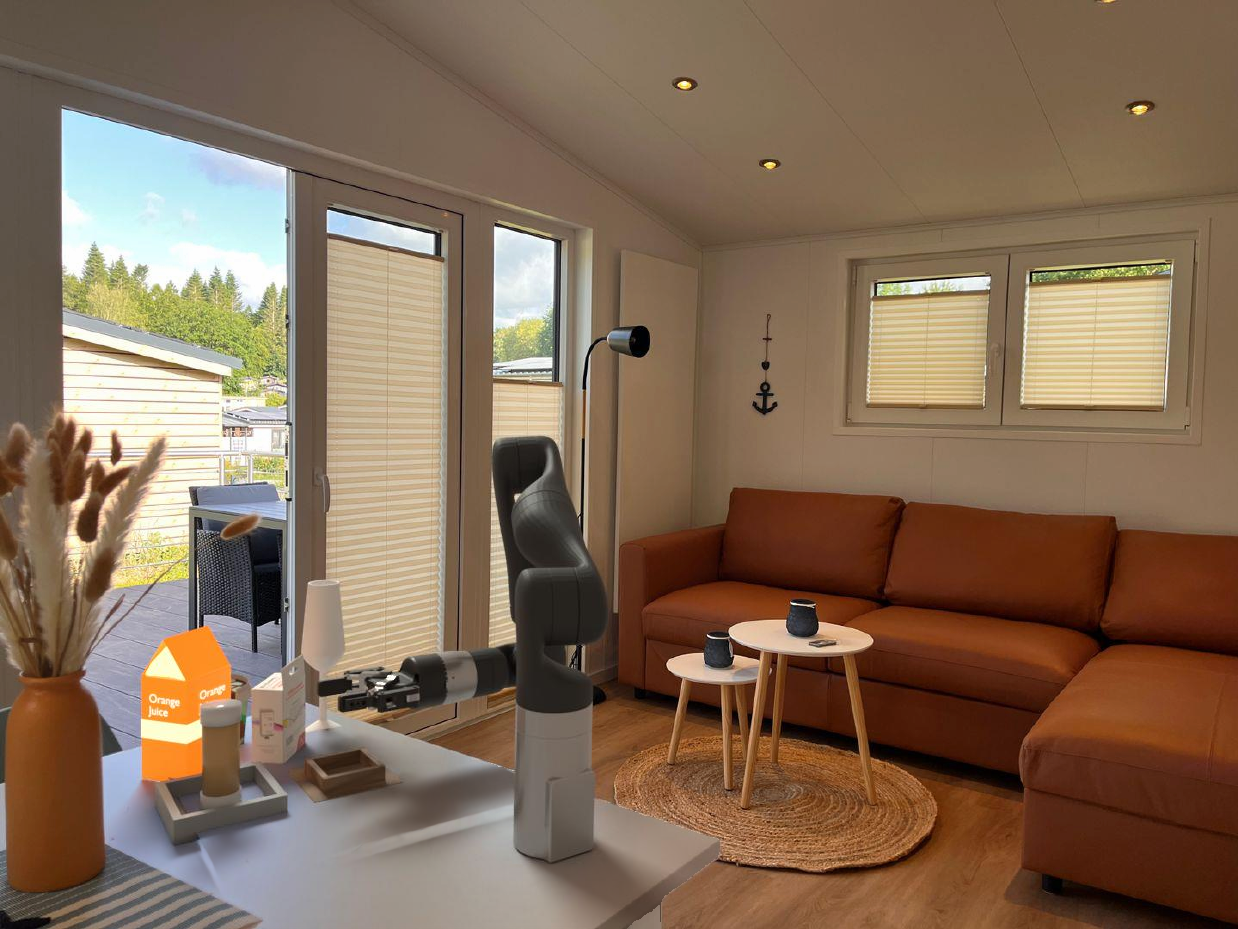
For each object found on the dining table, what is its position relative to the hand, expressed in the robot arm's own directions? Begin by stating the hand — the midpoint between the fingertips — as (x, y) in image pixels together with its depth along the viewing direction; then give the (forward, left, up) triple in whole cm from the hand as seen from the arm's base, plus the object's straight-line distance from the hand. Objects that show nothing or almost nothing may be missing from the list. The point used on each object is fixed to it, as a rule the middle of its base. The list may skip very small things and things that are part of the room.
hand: (327, 696), depth 121 cm
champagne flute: (+23, -6, -13) cm, 27 cm away
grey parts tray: (+1, +14, -13) cm, 19 cm away
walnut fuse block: (+1, -2, -13) cm, 13 cm away
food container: (+26, +8, -13) cm, 30 cm away
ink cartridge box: (+15, +3, -13) cm, 20 cm away
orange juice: (+17, +15, -13) cm, 26 cm away
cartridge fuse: (+1, +13, -12) cm, 18 cm away
